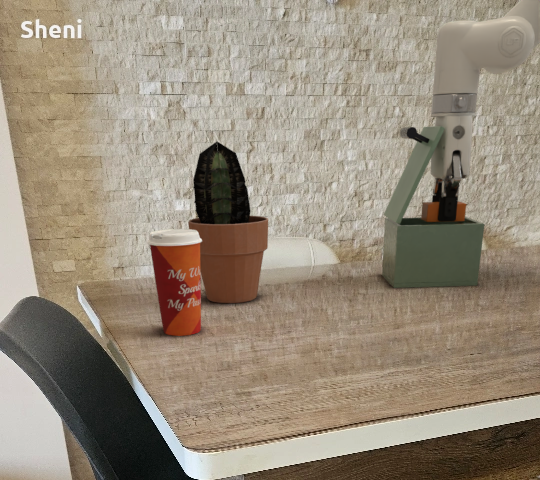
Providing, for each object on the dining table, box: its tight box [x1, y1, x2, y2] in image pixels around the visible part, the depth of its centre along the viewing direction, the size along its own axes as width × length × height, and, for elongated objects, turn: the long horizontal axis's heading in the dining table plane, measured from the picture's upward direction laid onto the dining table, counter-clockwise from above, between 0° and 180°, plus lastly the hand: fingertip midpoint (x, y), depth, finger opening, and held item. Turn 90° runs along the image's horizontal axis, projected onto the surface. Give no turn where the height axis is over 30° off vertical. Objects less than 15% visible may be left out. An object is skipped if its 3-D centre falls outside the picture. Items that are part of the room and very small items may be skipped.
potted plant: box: [187, 141, 269, 304], centre depth 113 cm, size 14×14×25 cm
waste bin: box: [381, 216, 486, 289], centre depth 126 cm, size 16×13×11 cm
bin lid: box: [383, 126, 445, 224], centre depth 120 cm, size 16×13×5 cm
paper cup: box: [146, 228, 202, 337], centre depth 96 cm, size 8×8×14 cm
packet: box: [420, 201, 467, 222], centre depth 123 cm, size 7×4×3 cm, turn 91°
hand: (442, 218), depth 124 cm, fingers closed on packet, 4 cm apart
